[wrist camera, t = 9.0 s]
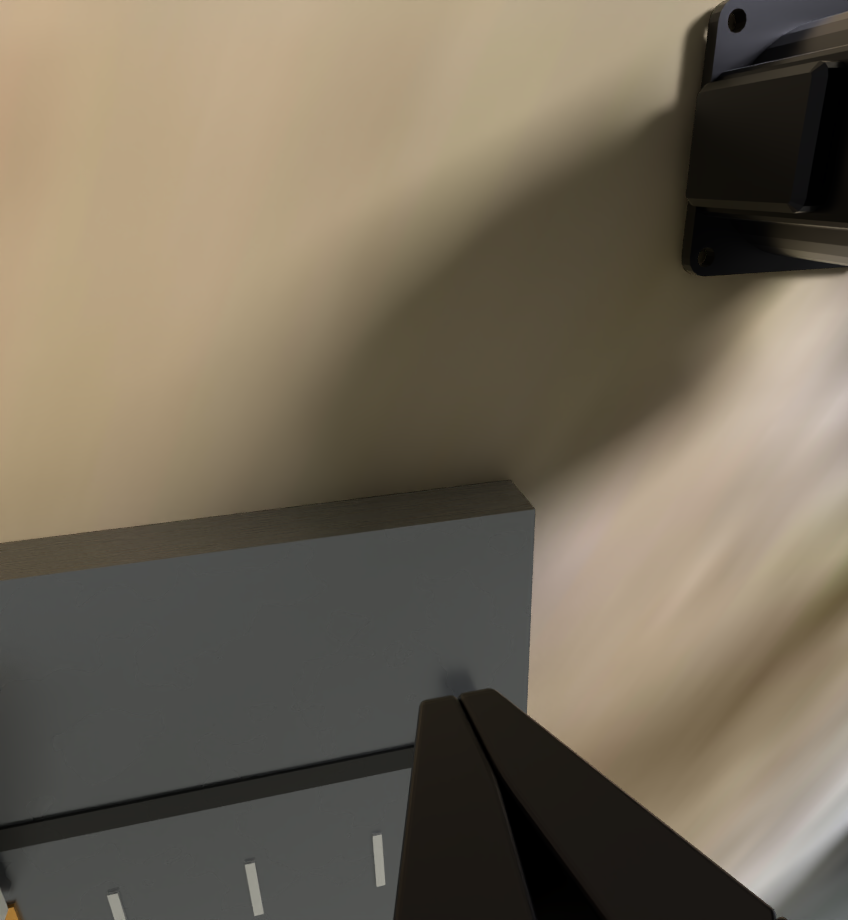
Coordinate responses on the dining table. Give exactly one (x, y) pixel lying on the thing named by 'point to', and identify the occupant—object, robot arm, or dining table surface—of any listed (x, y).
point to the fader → (3, 907)
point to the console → (243, 700)
